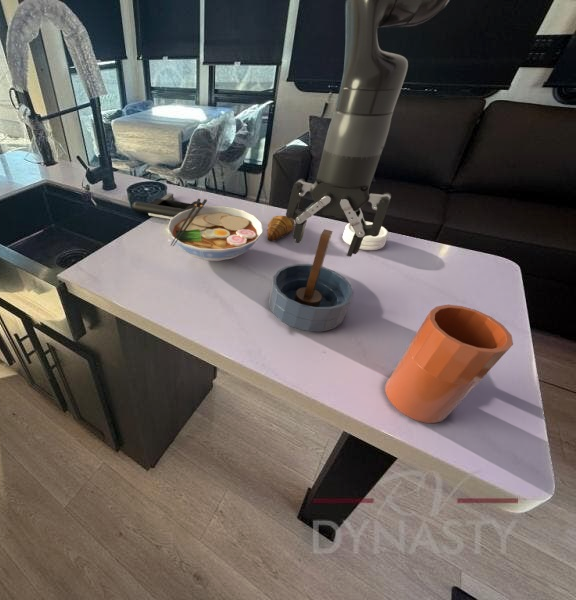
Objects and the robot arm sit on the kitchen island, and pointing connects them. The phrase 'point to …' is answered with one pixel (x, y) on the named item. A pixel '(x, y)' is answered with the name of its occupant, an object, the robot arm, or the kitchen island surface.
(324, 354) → the kitchen island surface
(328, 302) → the bowl
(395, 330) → the kitchen island surface
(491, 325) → the crock
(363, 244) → the coaster
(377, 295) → the kitchen island surface
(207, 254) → the ramen bowl
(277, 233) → the croissant
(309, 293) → the brown wooden masher
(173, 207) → the door handle
